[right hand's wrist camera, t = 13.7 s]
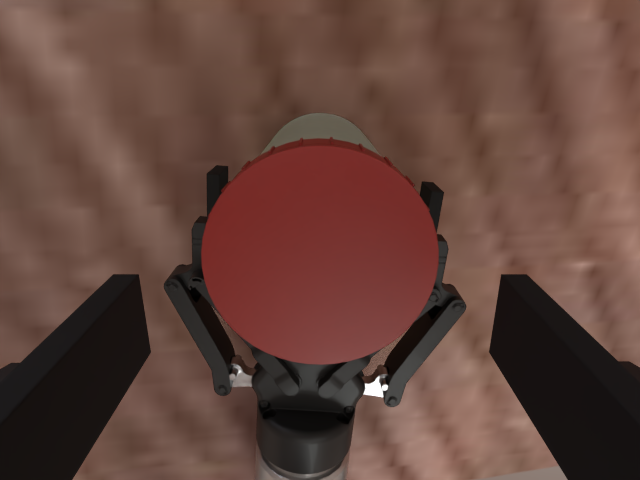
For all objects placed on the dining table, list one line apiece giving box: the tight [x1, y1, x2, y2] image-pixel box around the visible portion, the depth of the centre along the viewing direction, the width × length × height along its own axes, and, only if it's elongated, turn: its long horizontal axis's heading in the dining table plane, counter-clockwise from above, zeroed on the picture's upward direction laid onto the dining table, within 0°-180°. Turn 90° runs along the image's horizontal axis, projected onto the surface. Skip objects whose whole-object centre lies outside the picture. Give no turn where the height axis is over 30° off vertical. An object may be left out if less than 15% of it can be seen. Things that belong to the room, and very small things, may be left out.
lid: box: [201, 137, 439, 365], centre depth 18 cm, size 9×9×2 cm
